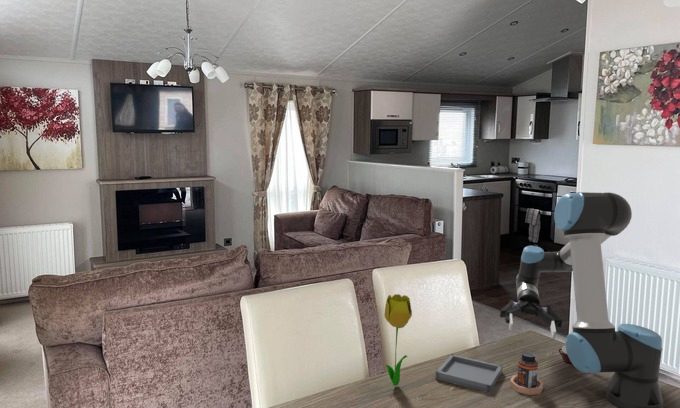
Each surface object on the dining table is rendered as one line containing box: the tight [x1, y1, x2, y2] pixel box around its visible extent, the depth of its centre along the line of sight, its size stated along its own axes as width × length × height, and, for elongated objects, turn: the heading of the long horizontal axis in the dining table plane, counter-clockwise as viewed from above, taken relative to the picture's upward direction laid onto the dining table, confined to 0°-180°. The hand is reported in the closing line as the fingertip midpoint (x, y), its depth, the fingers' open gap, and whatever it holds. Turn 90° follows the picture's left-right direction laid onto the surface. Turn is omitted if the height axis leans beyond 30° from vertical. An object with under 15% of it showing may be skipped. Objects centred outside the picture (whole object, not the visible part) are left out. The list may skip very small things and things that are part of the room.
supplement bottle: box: [516, 351, 539, 388], centre depth 166 cm, size 6×6×11 cm
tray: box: [435, 353, 504, 394], centre depth 174 cm, size 18×16×2 cm
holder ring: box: [509, 375, 544, 396], centre depth 167 cm, size 10×10×2 cm
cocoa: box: [558, 344, 572, 364], centre depth 185 cm, size 10×6×12 cm, turn 13°
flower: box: [384, 293, 413, 388], centre depth 164 cm, size 9×8×30 cm
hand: (532, 331), depth 171 cm, fingers open, 13 cm apart
